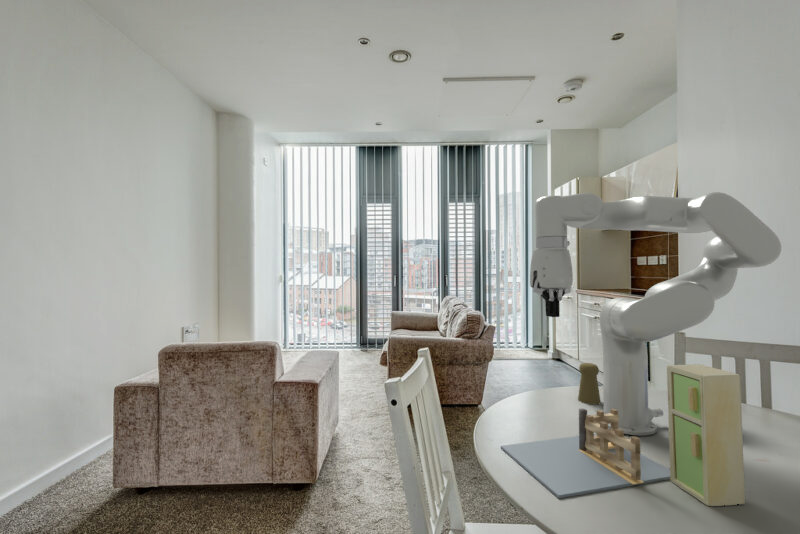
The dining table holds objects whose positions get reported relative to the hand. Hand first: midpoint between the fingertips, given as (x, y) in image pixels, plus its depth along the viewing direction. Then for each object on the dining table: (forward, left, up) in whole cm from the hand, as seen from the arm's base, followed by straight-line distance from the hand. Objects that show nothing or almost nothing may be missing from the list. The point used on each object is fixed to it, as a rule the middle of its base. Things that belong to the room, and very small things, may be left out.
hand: (552, 316), depth 97 cm
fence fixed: (+1, +16, -27) cm, 31 cm away
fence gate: (+4, +23, -26) cm, 35 cm away
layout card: (+7, +19, -27) cm, 34 cm away
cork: (-21, -11, -27) cm, 36 cm away
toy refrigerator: (-5, +33, -27) cm, 43 cm away
